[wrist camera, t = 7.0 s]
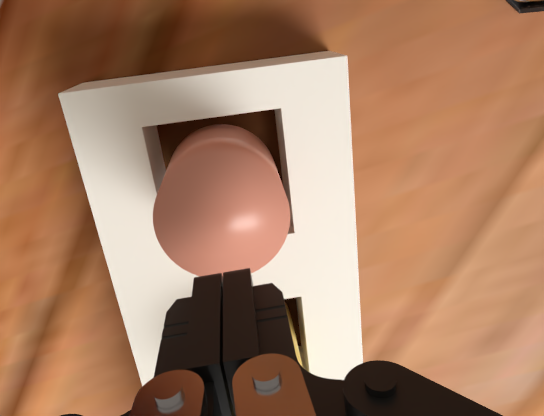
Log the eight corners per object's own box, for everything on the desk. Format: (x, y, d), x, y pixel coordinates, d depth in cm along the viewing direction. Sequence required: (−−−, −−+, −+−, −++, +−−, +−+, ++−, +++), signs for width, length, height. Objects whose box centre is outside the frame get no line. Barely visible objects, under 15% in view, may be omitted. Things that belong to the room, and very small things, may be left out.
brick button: (269, 116, 17) (282, 144, 14) (281, 218, 19) (296, 269, 15) (157, 132, 17) (138, 164, 13) (179, 233, 19) (168, 288, 15)
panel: (329, 50, 19) (347, 55, 16) (356, 464, 28) (370, 513, 25) (82, 82, 18) (57, 93, 16) (191, 493, 28) (188, 545, 25)
